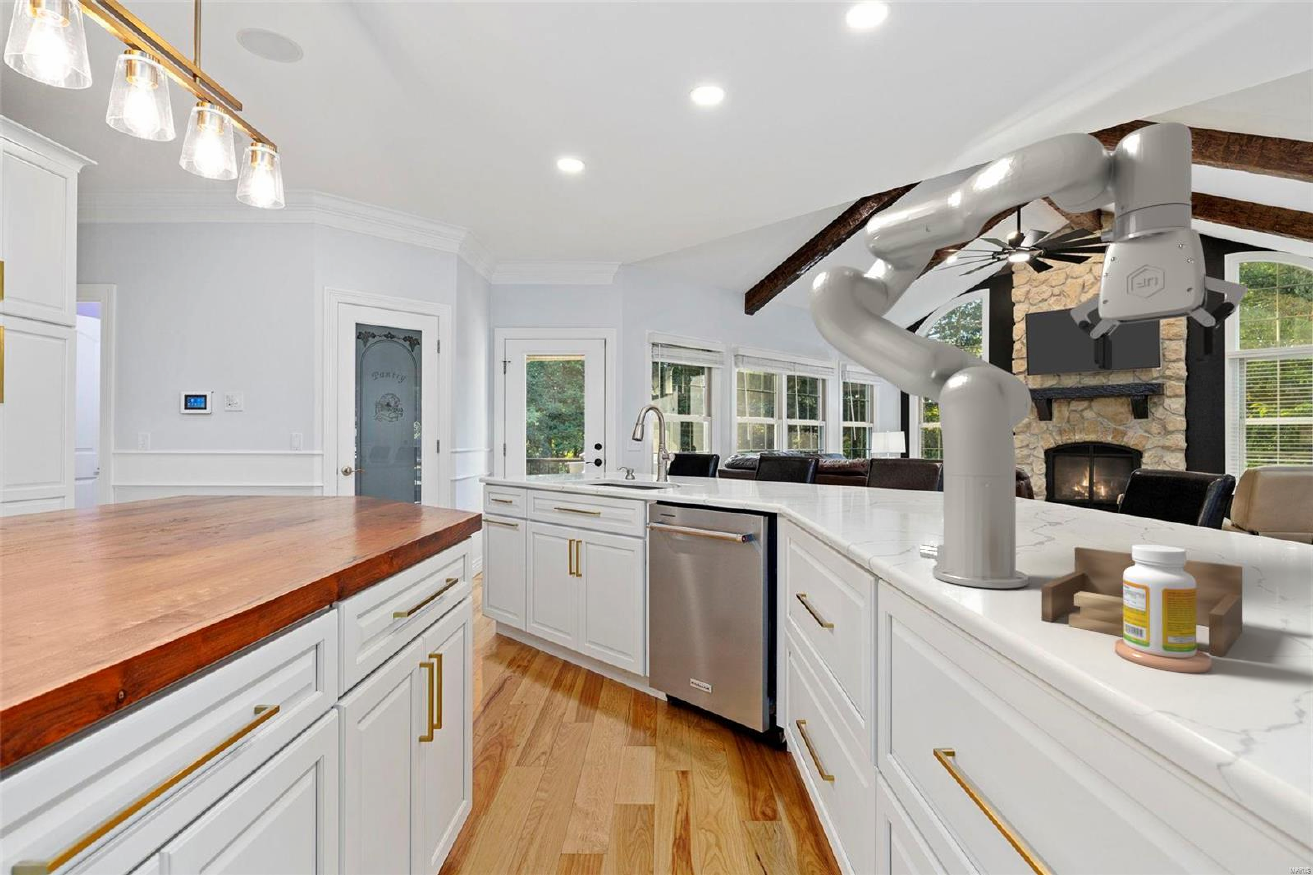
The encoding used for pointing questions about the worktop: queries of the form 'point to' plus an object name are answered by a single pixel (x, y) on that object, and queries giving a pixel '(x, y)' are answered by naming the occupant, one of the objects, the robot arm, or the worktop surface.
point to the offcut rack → (1103, 596)
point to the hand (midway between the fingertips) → (1151, 365)
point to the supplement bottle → (1159, 603)
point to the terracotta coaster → (1165, 660)
